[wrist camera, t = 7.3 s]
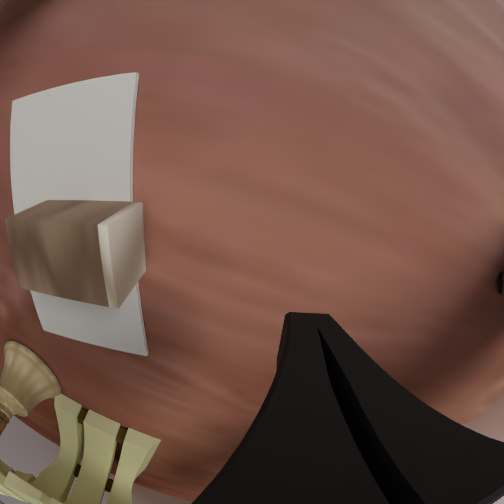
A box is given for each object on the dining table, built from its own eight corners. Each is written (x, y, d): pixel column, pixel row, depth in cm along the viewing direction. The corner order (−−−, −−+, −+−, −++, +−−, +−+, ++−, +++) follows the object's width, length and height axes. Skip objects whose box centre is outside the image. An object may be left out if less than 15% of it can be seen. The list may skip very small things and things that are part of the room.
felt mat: (148, 352, 19) (147, 356, 18) (45, 327, 18) (43, 330, 18) (139, 73, 12) (136, 72, 11) (16, 100, 11) (12, 101, 11)
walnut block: (118, 308, 12) (19, 287, 12) (146, 270, 15) (55, 258, 15) (107, 225, 10) (4, 219, 10) (142, 202, 14) (47, 200, 14)
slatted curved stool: (21, 410, 26) (-19, 489, 10) (0, 351, 21) (-69, 452, 4) (195, 489, 31) (183, 579, 14) (234, 459, 25) (226, 593, 9)
